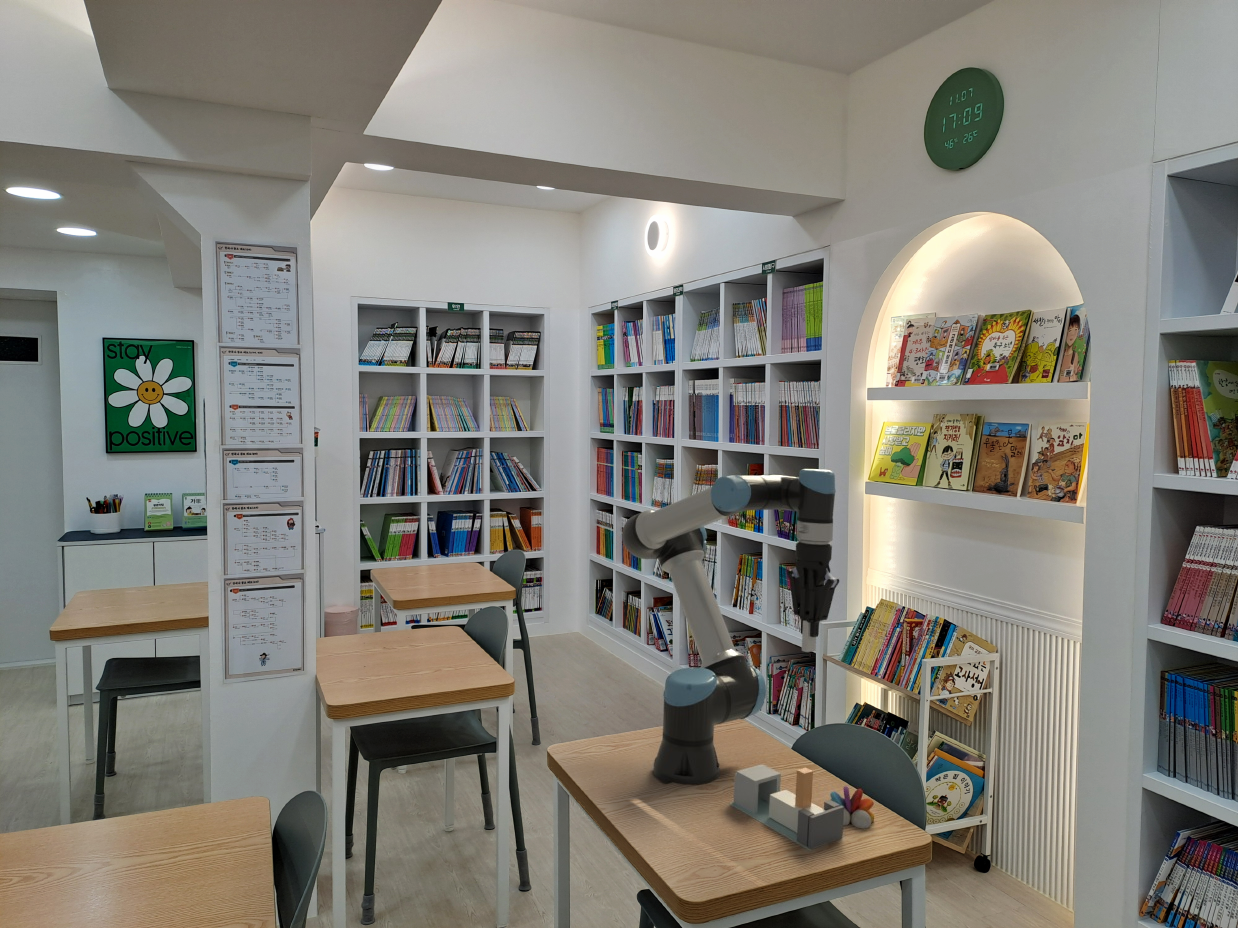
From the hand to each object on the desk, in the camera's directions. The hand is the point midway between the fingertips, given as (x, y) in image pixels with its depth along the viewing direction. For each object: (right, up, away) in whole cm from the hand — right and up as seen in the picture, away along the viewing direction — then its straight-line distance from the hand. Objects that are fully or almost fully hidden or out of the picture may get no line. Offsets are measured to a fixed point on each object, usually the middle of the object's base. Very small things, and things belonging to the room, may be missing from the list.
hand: (808, 650), depth 178 cm
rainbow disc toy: (+6, -34, -9) cm, 35 cm away
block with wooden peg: (-5, -32, -14) cm, 35 cm away
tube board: (-7, -33, -11) cm, 35 cm away
